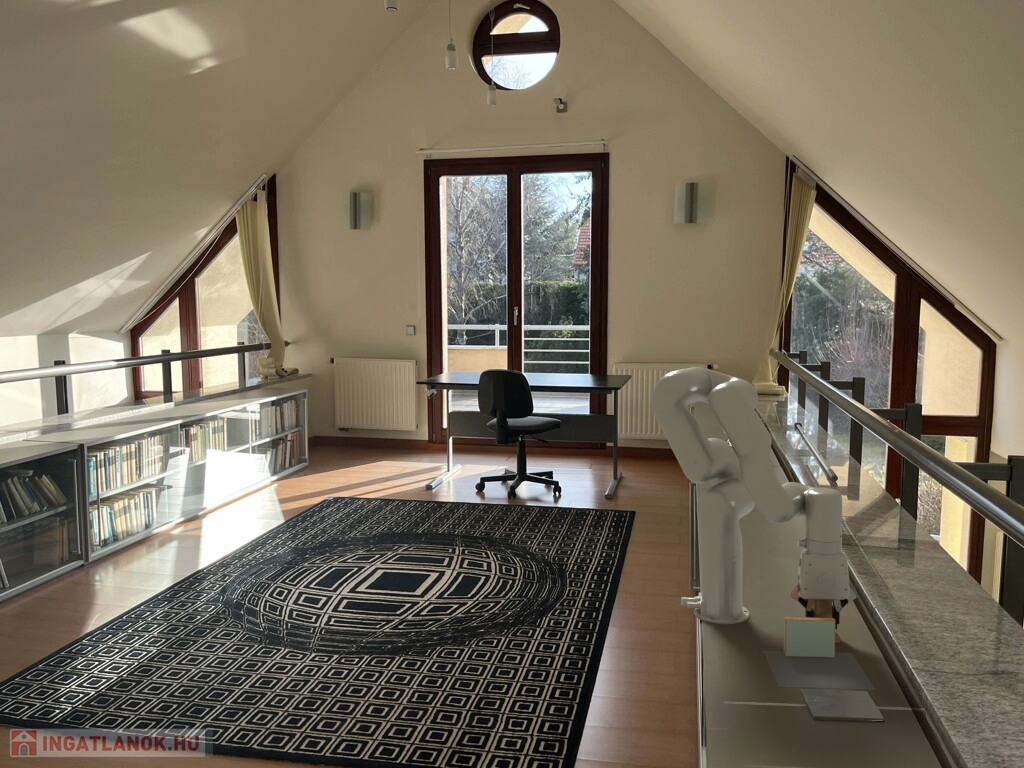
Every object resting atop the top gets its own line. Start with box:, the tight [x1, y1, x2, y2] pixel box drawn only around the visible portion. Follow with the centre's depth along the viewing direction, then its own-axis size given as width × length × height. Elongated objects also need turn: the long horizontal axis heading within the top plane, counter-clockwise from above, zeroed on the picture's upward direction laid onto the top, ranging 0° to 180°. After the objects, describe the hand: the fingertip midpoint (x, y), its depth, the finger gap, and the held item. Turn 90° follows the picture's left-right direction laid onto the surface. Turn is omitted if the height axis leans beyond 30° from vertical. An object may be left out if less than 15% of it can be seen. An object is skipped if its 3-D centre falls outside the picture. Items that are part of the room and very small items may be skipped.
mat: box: [762, 650, 877, 691], centre depth 161 cm, size 18×16×1 cm
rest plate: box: [800, 688, 885, 722], centre depth 147 cm, size 12×10×1 cm
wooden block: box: [813, 599, 841, 644], centre depth 176 cm, size 6×6×10 cm
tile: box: [783, 616, 836, 658], centre depth 167 cm, size 10×1×8 cm, turn 83°
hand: (822, 625), depth 176 cm, fingers open, 4 cm apart
